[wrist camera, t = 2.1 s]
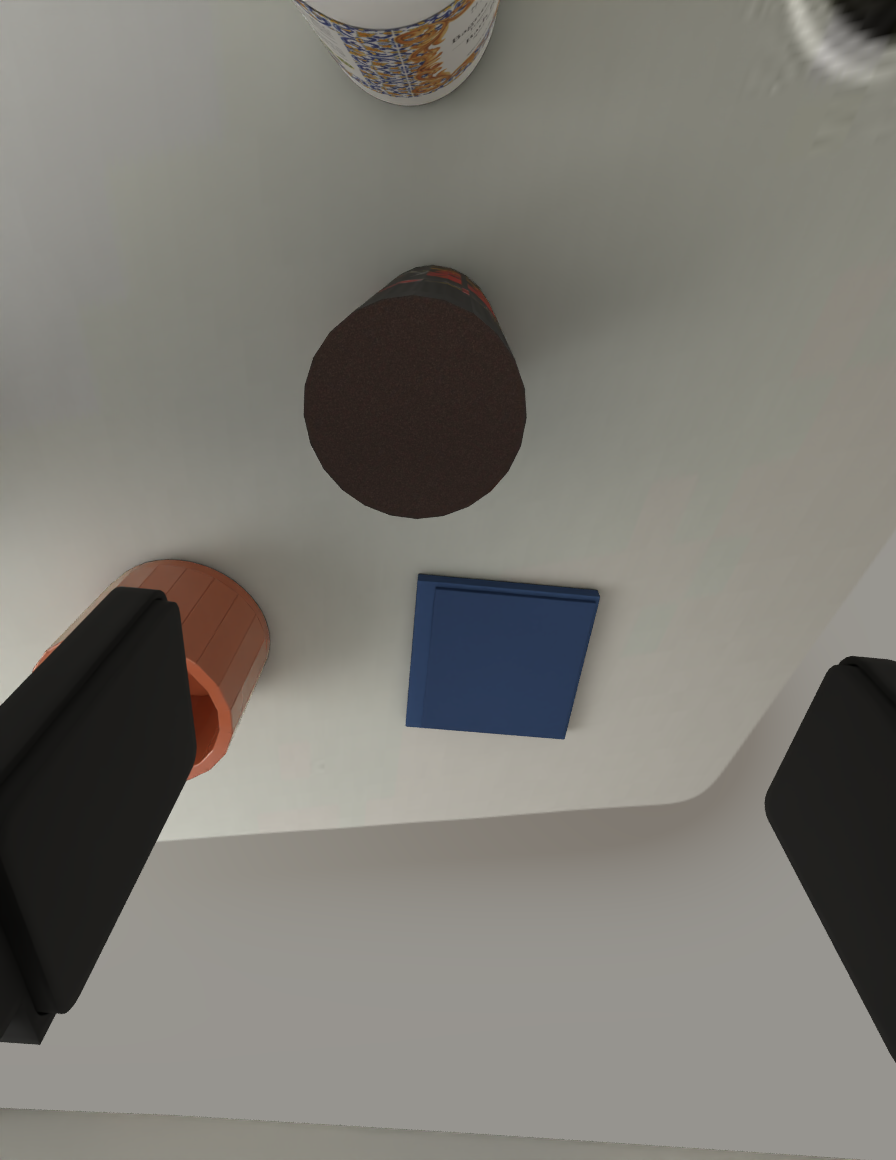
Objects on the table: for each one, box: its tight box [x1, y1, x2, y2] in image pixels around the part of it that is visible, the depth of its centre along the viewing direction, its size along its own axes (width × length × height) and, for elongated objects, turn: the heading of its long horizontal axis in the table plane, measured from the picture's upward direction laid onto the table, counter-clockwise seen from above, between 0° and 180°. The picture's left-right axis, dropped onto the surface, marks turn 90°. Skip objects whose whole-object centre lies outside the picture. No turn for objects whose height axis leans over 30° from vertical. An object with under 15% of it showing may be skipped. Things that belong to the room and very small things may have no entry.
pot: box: [32, 560, 270, 781], centre depth 35 cm, size 10×10×8 cm
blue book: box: [406, 574, 600, 739], centre depth 39 cm, size 10×11×1 cm
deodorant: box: [304, 265, 527, 519], centre depth 23 cm, size 6×6×15 cm
